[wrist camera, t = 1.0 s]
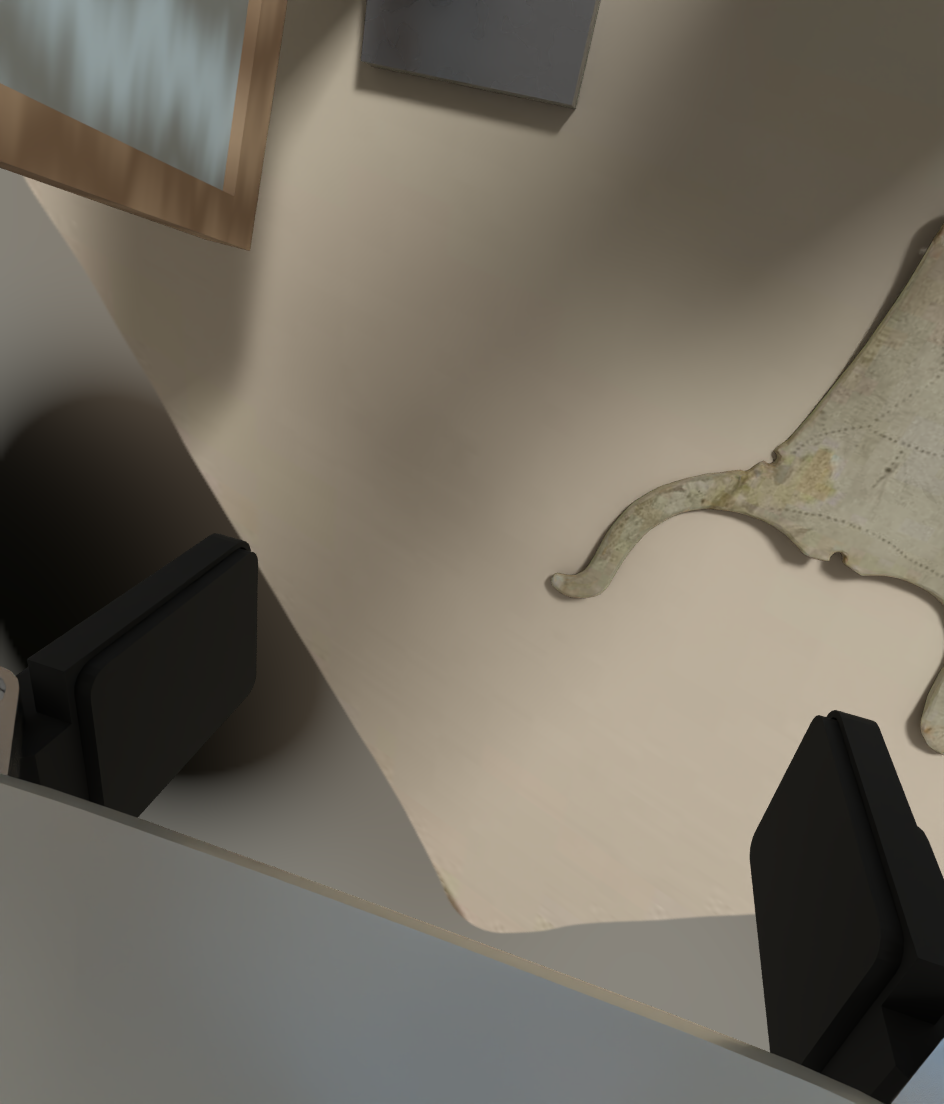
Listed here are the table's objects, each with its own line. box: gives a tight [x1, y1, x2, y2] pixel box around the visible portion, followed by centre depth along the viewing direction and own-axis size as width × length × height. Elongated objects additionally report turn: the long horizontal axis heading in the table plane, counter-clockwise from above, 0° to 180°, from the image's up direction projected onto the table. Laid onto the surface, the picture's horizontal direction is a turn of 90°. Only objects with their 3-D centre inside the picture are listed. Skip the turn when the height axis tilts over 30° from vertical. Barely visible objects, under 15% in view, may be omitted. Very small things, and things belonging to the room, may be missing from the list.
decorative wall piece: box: [551, 223, 944, 755], centre depth 41 cm, size 30×3×30 cm
